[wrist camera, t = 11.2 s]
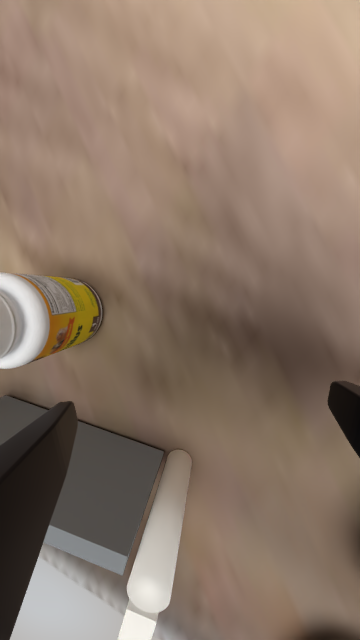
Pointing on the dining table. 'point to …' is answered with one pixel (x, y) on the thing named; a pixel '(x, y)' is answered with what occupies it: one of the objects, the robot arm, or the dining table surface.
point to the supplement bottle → (44, 316)
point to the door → (94, 489)
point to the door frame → (157, 551)
